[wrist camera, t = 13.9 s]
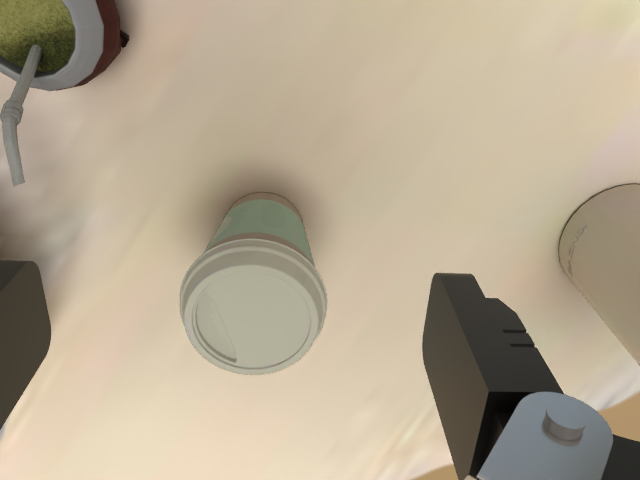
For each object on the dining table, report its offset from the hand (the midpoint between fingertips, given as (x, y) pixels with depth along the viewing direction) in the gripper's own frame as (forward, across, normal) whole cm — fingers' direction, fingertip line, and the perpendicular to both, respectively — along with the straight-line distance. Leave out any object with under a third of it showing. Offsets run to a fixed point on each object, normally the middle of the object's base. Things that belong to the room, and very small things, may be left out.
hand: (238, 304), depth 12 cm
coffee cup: (+28, +1, +12) cm, 31 cm away
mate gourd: (+28, +12, -2) cm, 31 cm away
